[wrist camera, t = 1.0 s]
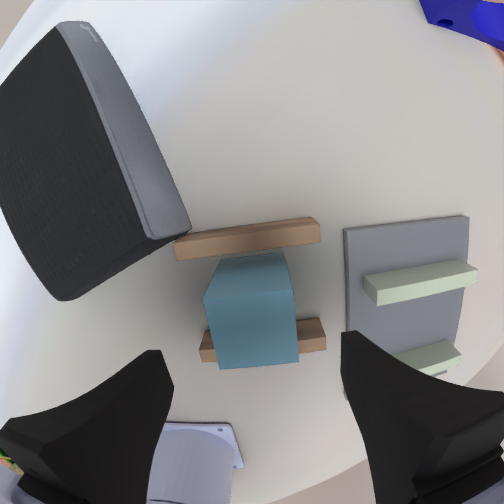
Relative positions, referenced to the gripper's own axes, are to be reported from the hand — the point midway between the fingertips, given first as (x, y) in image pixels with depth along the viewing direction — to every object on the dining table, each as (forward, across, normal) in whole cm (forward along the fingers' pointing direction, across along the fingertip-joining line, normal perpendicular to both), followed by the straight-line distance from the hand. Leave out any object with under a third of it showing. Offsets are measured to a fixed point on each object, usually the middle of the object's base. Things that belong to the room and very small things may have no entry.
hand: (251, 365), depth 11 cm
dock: (+8, -11, +4) cm, 14 cm away
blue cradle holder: (+9, -22, -20) cm, 31 cm away
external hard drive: (+9, +12, -11) cm, 19 cm away
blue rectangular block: (+8, 0, 0) cm, 9 cm away
